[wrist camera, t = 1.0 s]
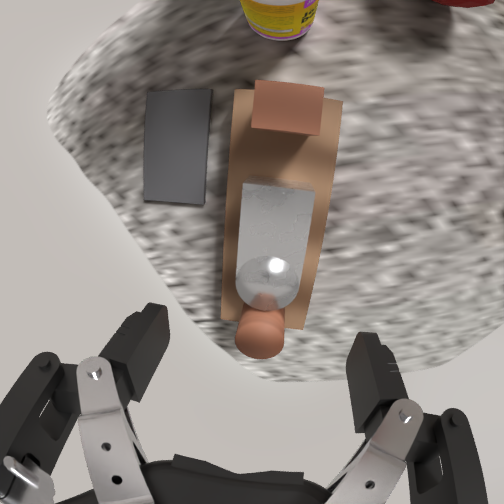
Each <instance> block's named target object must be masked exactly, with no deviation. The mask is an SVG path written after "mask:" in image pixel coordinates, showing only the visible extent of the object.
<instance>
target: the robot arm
mask: <svg viewBox="0 0 504 504" xmlns="http://www.w3.org/2000/svg"><path fill="white" fill-rule="evenodd" d="M169 340H170V329H169V320H168V310H167V307H166V306H165V305H160V304H155V303H148V304H147V305H146V306H145V308H144V309H143V310H142V312H135V313H133V314H132V315H130V316H129V317H127V318H126V319H125V321H124V322H123V323H122V325H121V327H119V329H118V330H117V331H116V333H115V334H114V335H113V337H112V338H111V339H110V341H109V342H108V343H107V345H106V346H105V347H104V349H103V350H102V351H101V353H100V354H99V356H98V357H89V358H86V359H85V360H83V361H82V362H81V363H80V364H79V365H75V364H64V363H61V362H60V360H59V358H58V356H57V355H56V354H54V353H52V352H43V353H40V354H38V355H37V356H35V357H34V358H33V359H32V361H31V362H30V363H29V365H28V366H27V367H26V369H25V370H24V371H23V373H22V374H21V375H20V377H19V378H18V380H17V381H16V382H15V384H14V385H13V387H12V388H11V390H10V391H9V392H8V394H7V395H6V397H5V398H4V400H3V401H2V403H1V404H0V502H1V503H3V504H54V501H53V496H54V495H55V489H54V483H53V480H52V478H51V477H50V476H51V473H52V471H53V469H54V467H55V464H56V462H57V460H58V458H59V455H60V453H61V451H62V449H63V447H64V445H65V443H66V441H67V439H68V437H69V435H70V433H71V431H72V429H73V427H74V425H75V423H76V421H77V419H78V425H79V431H80V436H81V441H82V446H83V450H84V455H85V459H86V463H87V467H88V470H89V474H90V478H91V481H92V484H93V487H94V489H91V490H89V491H87V492H85V493H82V494H80V495H77V496H75V497H72V498H70V499H67V500H64V501H61V502H58V503H56V504H385V502H386V500H387V499H388V497H389V496H390V494H391V492H392V491H393V489H394V487H395V486H396V484H397V482H398V481H399V479H400V477H401V475H402V473H403V471H404V470H405V468H406V465H407V469H408V478H409V489H410V502H411V504H488V500H487V493H486V487H485V482H484V477H483V473H482V468H481V464H480V460H479V456H478V452H477V448H476V445H475V442H474V438H473V434H472V431H471V428H470V425H469V422H468V419H467V417H466V415H465V414H464V413H463V412H462V411H461V410H459V409H456V408H450V409H447V410H446V411H444V413H443V414H442V415H441V416H438V415H433V414H427V413H423V411H422V409H421V407H420V406H419V405H418V404H417V403H416V402H414V401H412V400H410V399H409V398H408V395H407V392H406V389H405V386H404V383H403V380H402V377H401V374H400V372H399V368H398V366H397V364H396V360H395V357H394V355H393V353H392V352H391V350H390V349H389V348H388V347H387V346H386V345H381V343H380V340H379V337H378V335H377V333H372V332H359V333H358V334H357V336H356V338H355V341H354V343H353V346H352V348H351V351H350V353H349V355H348V358H347V362H346V374H347V380H348V386H349V391H350V398H351V405H352V411H353V418H354V426H355V433H365V437H366V439H365V440H364V441H363V442H362V444H361V445H360V447H359V448H358V449H357V451H356V452H355V453H354V455H353V456H352V458H351V459H350V460H349V461H348V463H347V464H346V465H345V467H344V468H343V469H342V471H341V472H340V473H339V474H338V475H337V476H336V477H335V478H334V479H333V481H332V482H331V483H330V484H329V485H328V486H327V487H326V488H324V487H322V486H320V485H318V484H316V483H314V482H311V481H308V480H305V479H303V476H304V472H283V471H267V472H257V473H247V474H236V473H233V472H230V471H228V470H225V469H223V468H220V467H218V466H216V465H213V464H211V463H209V462H206V461H202V460H198V459H194V458H189V457H185V456H181V455H178V454H175V455H174V458H173V460H161V461H154V462H151V463H149V462H148V460H147V458H146V455H145V453H144V451H143V449H142V447H141V444H140V442H139V439H138V437H137V434H136V431H135V428H134V425H133V422H132V419H131V416H130V413H129V410H128V407H127V406H128V404H129V402H130V400H133V401H137V402H140V401H141V399H142V397H143V394H144V393H145V391H146V389H147V387H148V384H149V382H150V380H151V378H152V376H153V374H154V372H155V370H156V368H157V367H158V365H159V363H160V361H161V359H162V357H163V355H164V353H165V351H166V349H167V347H168V344H169ZM48 400H50V401H49V402H48ZM47 402H48V404H47ZM46 404H47V406H46V407H45V405H46ZM44 407H45V409H44V411H43V412H42V410H43V408H44ZM41 412H42V414H41ZM40 414H41V416H40ZM80 414H81V415H80ZM79 415H80V416H79ZM39 416H40V417H39ZM439 456H440V458H439ZM440 459H441V463H440ZM405 461H406V462H407V463H406V462H405ZM441 464H442V469H441ZM442 470H443V475H442Z"/></svg>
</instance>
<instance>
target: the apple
mask: <svg viewBox="0 0 504 504" xmlns="http://www.w3.org/2000/svg"><path fill="white" fill-rule="evenodd" d="M432 1H435V2H437V3H439V4H442V5H447V6H453V7H465V8H470V7H477V6H485V5H488V4H492V3H494V1H495V0H432Z"/></svg>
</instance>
